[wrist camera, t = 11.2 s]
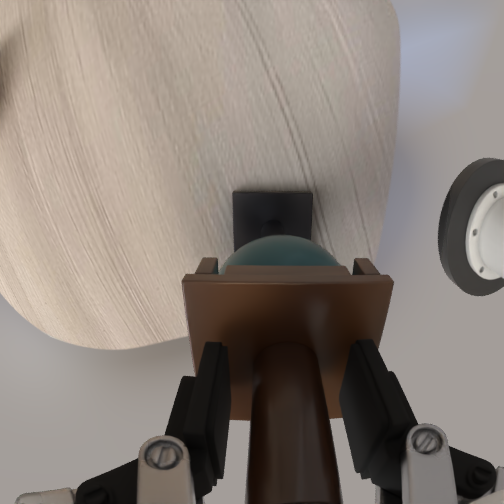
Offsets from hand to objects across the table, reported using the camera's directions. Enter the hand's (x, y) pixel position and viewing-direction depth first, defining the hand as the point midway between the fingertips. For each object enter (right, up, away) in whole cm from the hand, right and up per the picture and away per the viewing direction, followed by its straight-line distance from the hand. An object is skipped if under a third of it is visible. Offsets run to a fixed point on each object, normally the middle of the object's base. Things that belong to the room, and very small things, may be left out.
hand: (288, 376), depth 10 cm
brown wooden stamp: (0, +1, +2) cm, 3 cm away
